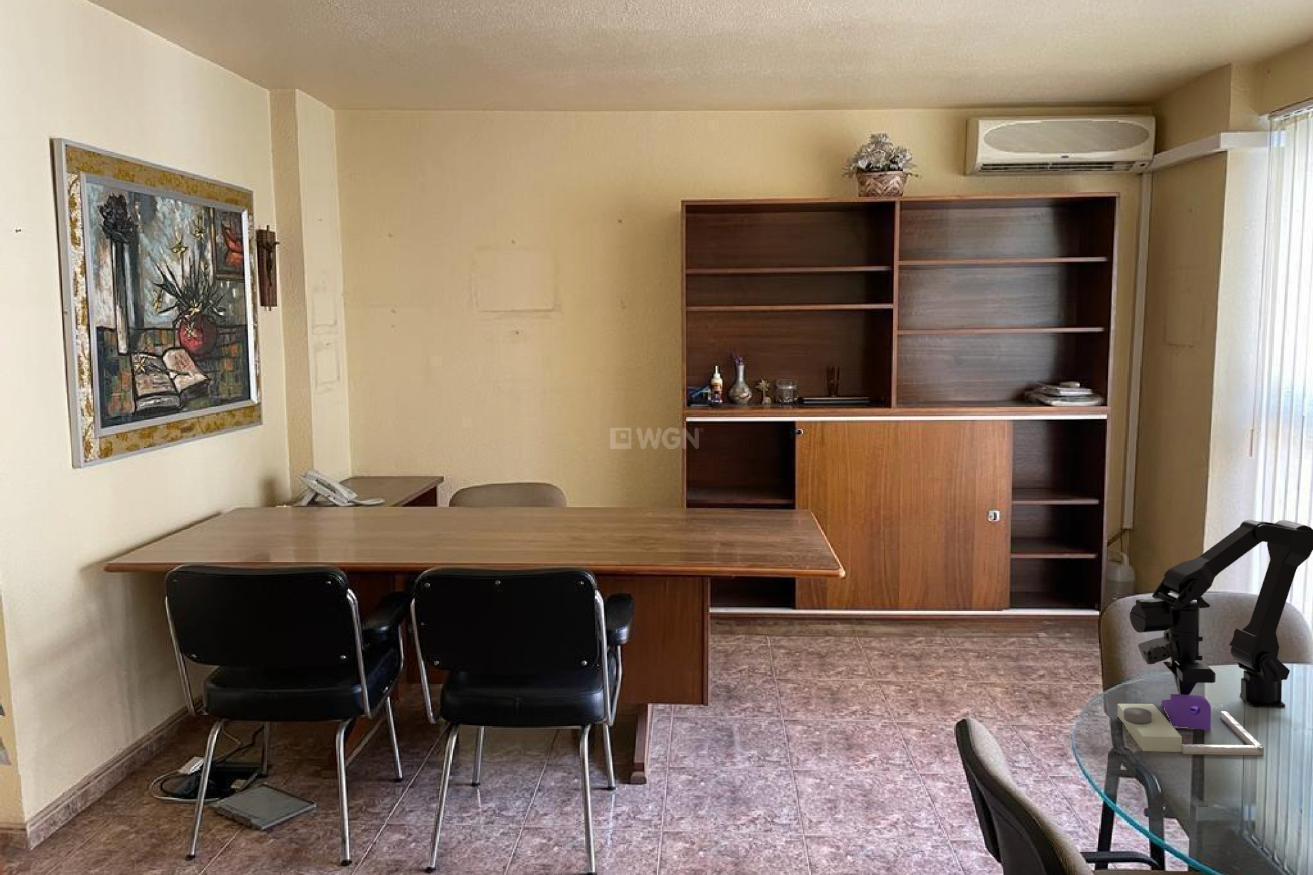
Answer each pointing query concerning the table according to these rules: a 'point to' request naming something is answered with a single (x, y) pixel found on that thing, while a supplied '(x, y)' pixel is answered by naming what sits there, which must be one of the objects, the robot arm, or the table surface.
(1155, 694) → the table surface
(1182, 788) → the table surface
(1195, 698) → the bracket
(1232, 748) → the cream railed tray
